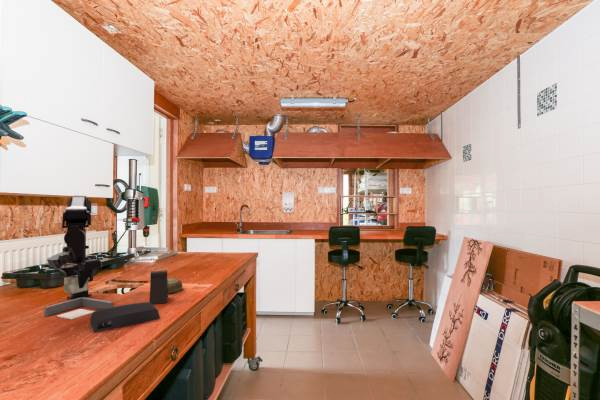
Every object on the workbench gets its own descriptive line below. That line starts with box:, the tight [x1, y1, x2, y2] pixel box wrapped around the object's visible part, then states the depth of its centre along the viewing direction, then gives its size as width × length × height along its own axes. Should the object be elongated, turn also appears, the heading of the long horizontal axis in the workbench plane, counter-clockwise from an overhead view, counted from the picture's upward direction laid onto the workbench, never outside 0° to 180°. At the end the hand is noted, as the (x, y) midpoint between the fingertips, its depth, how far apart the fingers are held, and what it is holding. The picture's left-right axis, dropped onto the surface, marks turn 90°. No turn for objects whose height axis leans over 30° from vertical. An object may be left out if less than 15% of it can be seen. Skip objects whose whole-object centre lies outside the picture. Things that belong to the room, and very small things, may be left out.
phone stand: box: [148, 270, 169, 305], centre depth 129 cm, size 9×6×12 cm, turn 17°
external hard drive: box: [89, 301, 161, 333], centre depth 108 cm, size 13×19×4 cm
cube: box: [63, 275, 89, 294], centre depth 114 cm, size 5×5×5 cm
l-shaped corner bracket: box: [43, 297, 114, 321], centre depth 115 cm, size 17×13×3 cm
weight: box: [167, 277, 183, 294], centre depth 145 cm, size 14×13×5 cm
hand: (76, 287), depth 114 cm, fingers closed on cube, 5 cm apart
